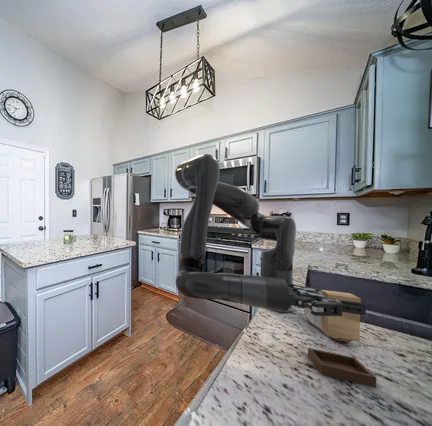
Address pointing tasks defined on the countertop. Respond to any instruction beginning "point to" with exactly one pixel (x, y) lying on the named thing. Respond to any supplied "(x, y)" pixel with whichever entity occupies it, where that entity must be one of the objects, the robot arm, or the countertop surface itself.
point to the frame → (341, 367)
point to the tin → (316, 322)
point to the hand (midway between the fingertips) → (357, 305)
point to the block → (341, 319)
